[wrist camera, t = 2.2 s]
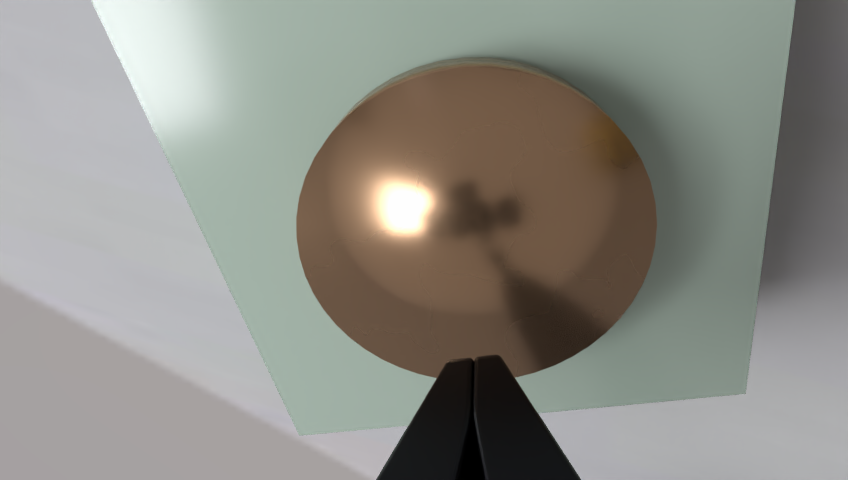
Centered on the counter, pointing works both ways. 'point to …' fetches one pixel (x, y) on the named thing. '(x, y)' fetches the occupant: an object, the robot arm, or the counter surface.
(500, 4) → the base
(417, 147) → the copper round dome
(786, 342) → the counter surface
